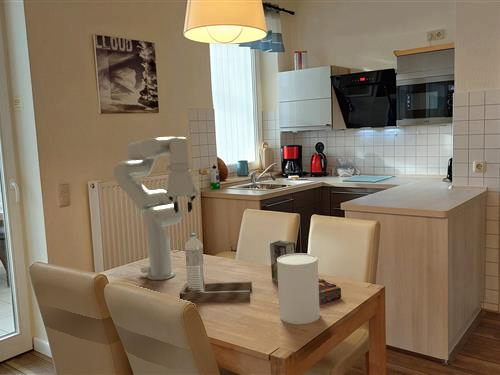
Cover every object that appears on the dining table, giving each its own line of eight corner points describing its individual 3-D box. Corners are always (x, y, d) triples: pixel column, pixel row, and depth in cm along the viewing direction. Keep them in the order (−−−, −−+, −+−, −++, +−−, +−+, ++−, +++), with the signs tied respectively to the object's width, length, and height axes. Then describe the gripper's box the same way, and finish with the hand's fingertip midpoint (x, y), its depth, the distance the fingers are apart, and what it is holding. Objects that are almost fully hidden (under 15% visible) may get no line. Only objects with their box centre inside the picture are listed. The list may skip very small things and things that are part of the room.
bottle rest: (180, 302, 187) (179, 293, 187) (186, 291, 199) (185, 283, 199) (250, 300, 185) (249, 291, 185) (252, 289, 197) (251, 281, 197)
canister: (323, 322, 162) (321, 262, 159) (282, 325, 161) (279, 265, 158) (315, 307, 175) (312, 252, 173) (277, 310, 174) (274, 255, 172)
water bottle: (203, 299, 189) (198, 235, 185) (185, 299, 190) (181, 236, 187) (208, 293, 195) (203, 231, 192) (191, 293, 197) (187, 231, 193)
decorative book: (318, 288, 195) (317, 276, 195) (344, 300, 181) (343, 287, 180) (293, 294, 190) (293, 281, 189) (318, 307, 176) (318, 293, 175)
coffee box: (297, 280, 205) (296, 242, 203) (287, 284, 201) (285, 246, 199) (281, 276, 212) (279, 239, 209) (271, 280, 207) (269, 243, 205)
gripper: (157, 169, 197) (160, 214, 200) (199, 167, 196) (202, 212, 199) (161, 167, 205) (165, 211, 207) (202, 165, 204) (205, 209, 206)
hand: (183, 211), depth 203 cm, fingers open, 4 cm apart
